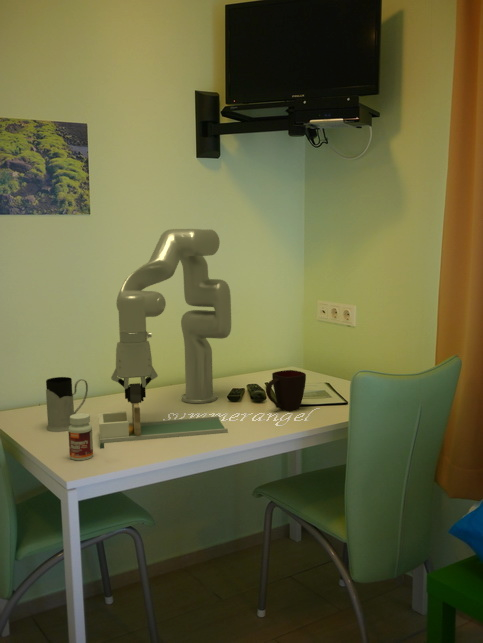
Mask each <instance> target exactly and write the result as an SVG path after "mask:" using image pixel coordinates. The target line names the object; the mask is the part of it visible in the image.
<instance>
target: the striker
mask: <svg viewBox="0 0 483 643" xmlns="http://www.w3.org/2000/svg"><path fill="white" fill-rule="evenodd" d="M128 385H129V387H130V400H131V402H129V403H130V404H131V411H132V412H131V414H132V416H131V417H132V418H131V420H132V423H133V426H134V434H136V436H139V435H141V425H140V422H141V407H140V405H139V404H141V403H142V401H141V382H139V383H138V382H137V383H128Z"/></svg>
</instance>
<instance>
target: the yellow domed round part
mask: <svg viewBox="0 0 483 643" xmlns="http://www.w3.org/2000/svg"><path fill="white" fill-rule="evenodd" d="M133 434H134V426H133V425H130V424H129V436H130V435H133Z"/></svg>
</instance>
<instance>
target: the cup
mask: <svg viewBox="0 0 483 643" xmlns="http://www.w3.org/2000/svg"><path fill="white" fill-rule="evenodd" d="M271 375H272V377H271V378H272V379H271V380H270V381H269V382H268V383H267V385H266V388H265V394H266V396H267V398H268V399H269V400H270V401H271V402H272V403H274V404H275V405H277V407H278V409H279V410H282V411H284V412H295V411H298V410H299V409H300V407H301V405H302V401H303V399H304V393H305V389H306V388H305V387H306V382H307V374H306V373H305V372H303V371H299V370H295V369H293V370H292V369H287V370H285V369H284V370H280V371H279V370H278V371H274V372H272V373H271ZM272 387H273V392H274V396H275V400H274V399H273V397H272V393H271V392H272V391H271V390H272Z"/></svg>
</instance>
